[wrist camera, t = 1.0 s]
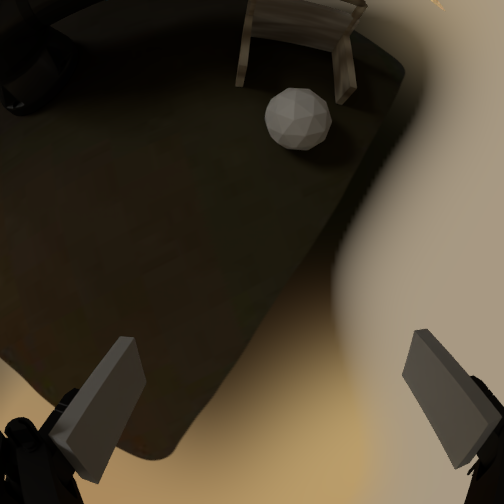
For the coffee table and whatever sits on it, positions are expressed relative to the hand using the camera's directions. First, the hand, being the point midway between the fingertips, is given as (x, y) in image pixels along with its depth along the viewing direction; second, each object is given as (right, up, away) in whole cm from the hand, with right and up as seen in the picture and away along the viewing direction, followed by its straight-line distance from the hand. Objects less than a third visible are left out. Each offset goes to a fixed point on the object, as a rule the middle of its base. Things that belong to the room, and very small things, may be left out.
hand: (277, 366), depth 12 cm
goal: (+5, +32, +23) cm, 40 cm away
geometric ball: (+4, +21, +23) cm, 31 cm away
